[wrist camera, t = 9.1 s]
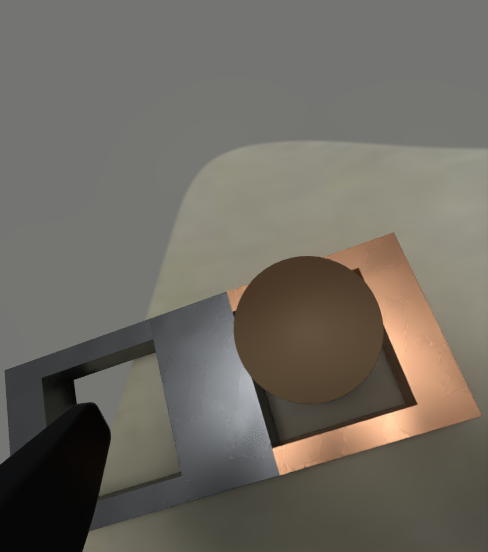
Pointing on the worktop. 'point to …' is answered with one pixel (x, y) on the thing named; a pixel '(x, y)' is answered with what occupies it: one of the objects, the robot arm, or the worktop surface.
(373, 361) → the walnut peg
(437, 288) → the worktop surface
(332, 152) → the worktop surface
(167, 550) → the worktop surface
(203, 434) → the grey copper flat frame
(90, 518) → the robot arm
